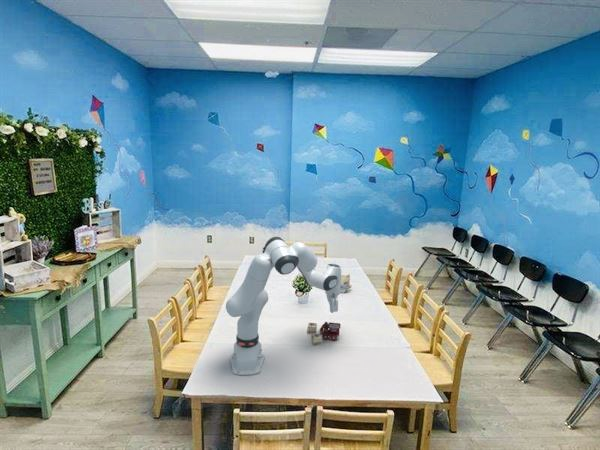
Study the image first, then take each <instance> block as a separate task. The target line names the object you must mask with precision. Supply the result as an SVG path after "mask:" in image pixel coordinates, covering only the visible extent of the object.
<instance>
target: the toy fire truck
mask: <svg viewBox="0 0 600 450" xmlns="http://www.w3.org/2000/svg"><path fill="white" fill-rule="evenodd" d="M340 329H341V323H340V322H328V321H325V322H324V323H323V324H322V325H321V327H320V328H319V333H320V335H321V337H322V340H328V339H329V338H330V341H332V342H335V341H337V340H338V338H339V337H340Z"/></svg>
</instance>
